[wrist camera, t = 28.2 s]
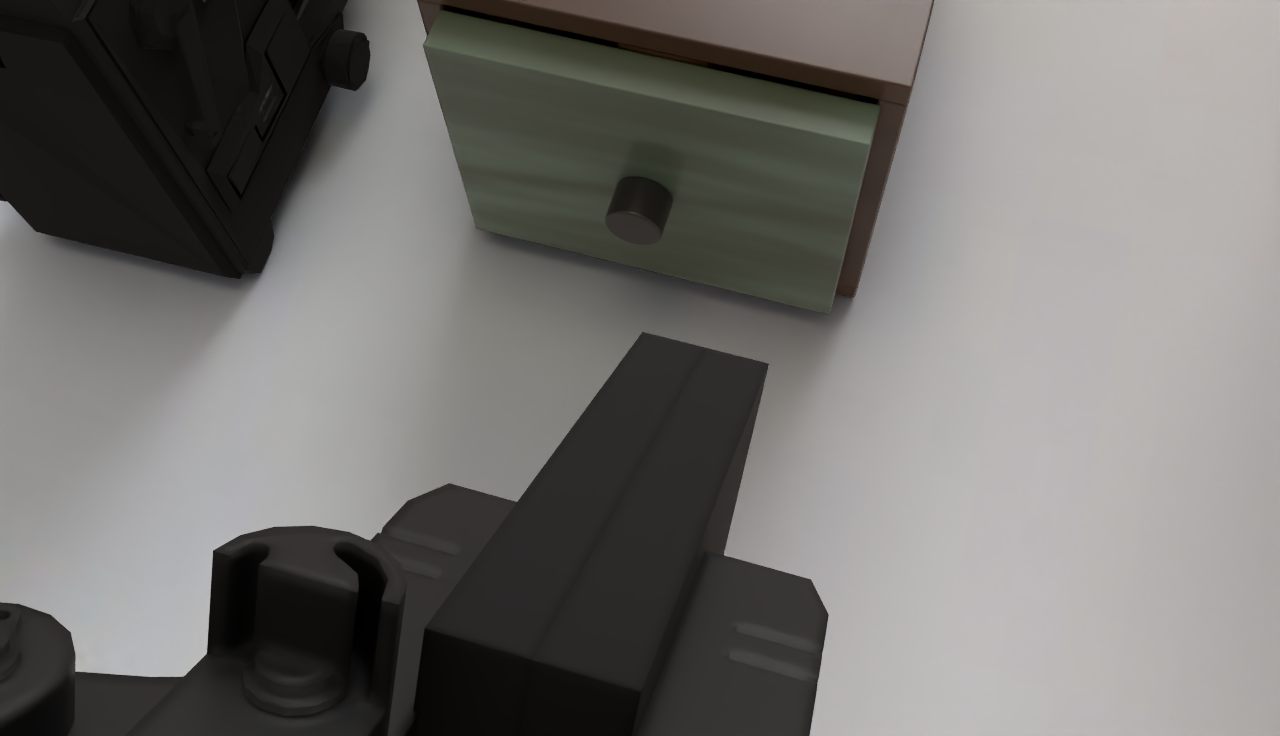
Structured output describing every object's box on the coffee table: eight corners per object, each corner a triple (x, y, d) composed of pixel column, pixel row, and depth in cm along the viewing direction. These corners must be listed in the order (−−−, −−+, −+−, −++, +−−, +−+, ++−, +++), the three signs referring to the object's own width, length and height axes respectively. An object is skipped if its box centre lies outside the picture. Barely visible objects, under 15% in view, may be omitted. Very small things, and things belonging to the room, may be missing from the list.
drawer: (820, 350, 36) (859, 188, 28) (462, 261, 38) (404, 83, 30) (905, 21, 41) (959, -196, 33) (586, -45, 43) (564, -267, 35)
